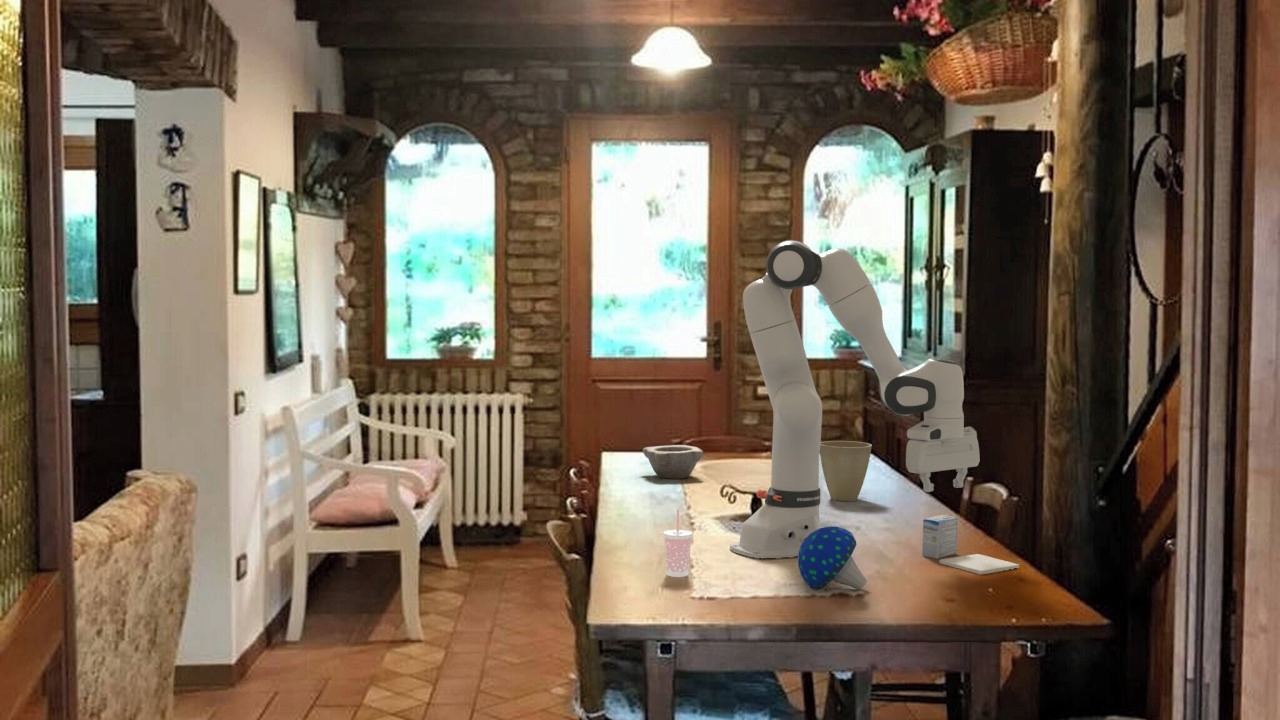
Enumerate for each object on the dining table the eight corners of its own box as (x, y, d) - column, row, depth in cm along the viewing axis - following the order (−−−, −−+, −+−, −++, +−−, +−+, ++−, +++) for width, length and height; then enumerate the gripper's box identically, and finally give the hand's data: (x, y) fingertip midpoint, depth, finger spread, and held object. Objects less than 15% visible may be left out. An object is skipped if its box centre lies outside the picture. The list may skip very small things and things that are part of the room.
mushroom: (891, 558, 245) (831, 511, 246) (849, 615, 243) (789, 568, 244) (876, 556, 259) (819, 512, 260) (836, 611, 257) (779, 566, 258)
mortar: (639, 473, 395) (639, 445, 394) (689, 471, 400) (690, 443, 399) (654, 482, 379) (654, 452, 378) (706, 480, 384) (707, 450, 383)
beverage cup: (662, 570, 266) (663, 506, 265) (691, 571, 265) (692, 506, 264) (662, 577, 260) (663, 511, 259) (691, 578, 259) (692, 512, 258)
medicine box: (940, 551, 288) (941, 514, 287) (957, 554, 285) (958, 517, 284) (921, 556, 283) (922, 518, 282) (938, 559, 279) (939, 521, 279)
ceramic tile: (980, 574, 265) (980, 570, 265) (939, 563, 276) (939, 559, 275) (1019, 568, 272) (1019, 564, 272) (977, 557, 282) (977, 553, 282)
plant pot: (881, 500, 352) (882, 445, 350) (843, 505, 343) (844, 448, 342) (844, 492, 364) (845, 439, 363) (806, 497, 356) (808, 442, 354)
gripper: (965, 424, 290) (965, 483, 291) (901, 431, 279) (901, 491, 280) (986, 427, 284) (985, 486, 285) (921, 434, 274) (921, 495, 275)
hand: (943, 489), depth 283 cm, fingers open, 8 cm apart
